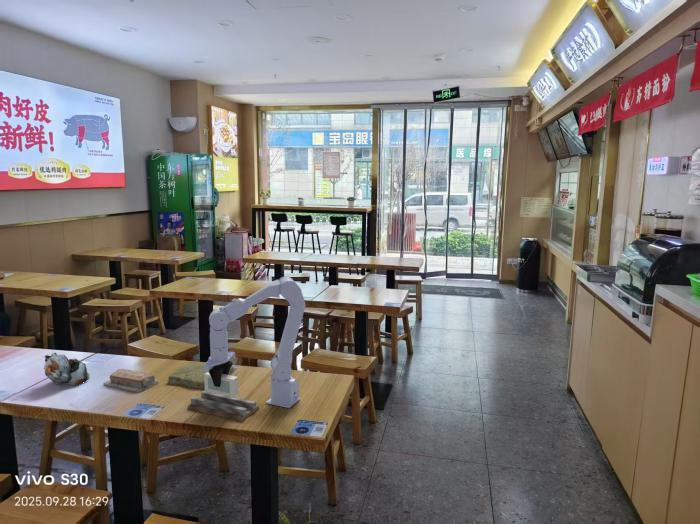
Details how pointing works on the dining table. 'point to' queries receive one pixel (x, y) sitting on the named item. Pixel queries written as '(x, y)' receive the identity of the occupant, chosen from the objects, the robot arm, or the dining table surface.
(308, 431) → the dining table surface
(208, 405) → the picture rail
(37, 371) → the dining table surface
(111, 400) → the dining table surface
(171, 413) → the dining table surface
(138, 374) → the packaged product
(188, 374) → the green stone slab
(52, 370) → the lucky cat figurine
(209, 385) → the tall cream box
